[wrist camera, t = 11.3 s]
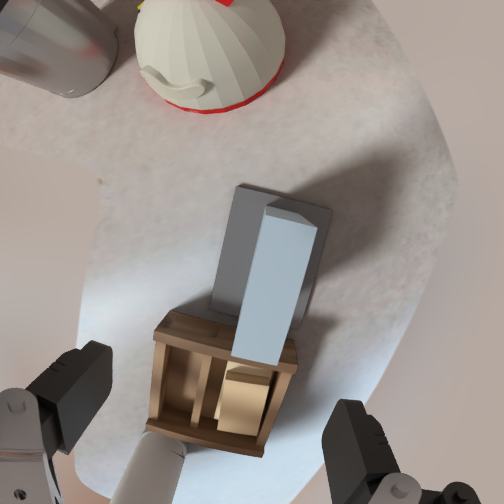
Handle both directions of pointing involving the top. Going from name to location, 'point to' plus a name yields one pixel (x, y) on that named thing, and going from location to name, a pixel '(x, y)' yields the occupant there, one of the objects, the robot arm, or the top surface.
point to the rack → (206, 384)
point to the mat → (244, 243)
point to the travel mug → (152, 471)
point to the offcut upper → (242, 403)
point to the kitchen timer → (209, 51)
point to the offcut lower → (246, 370)
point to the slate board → (273, 285)
